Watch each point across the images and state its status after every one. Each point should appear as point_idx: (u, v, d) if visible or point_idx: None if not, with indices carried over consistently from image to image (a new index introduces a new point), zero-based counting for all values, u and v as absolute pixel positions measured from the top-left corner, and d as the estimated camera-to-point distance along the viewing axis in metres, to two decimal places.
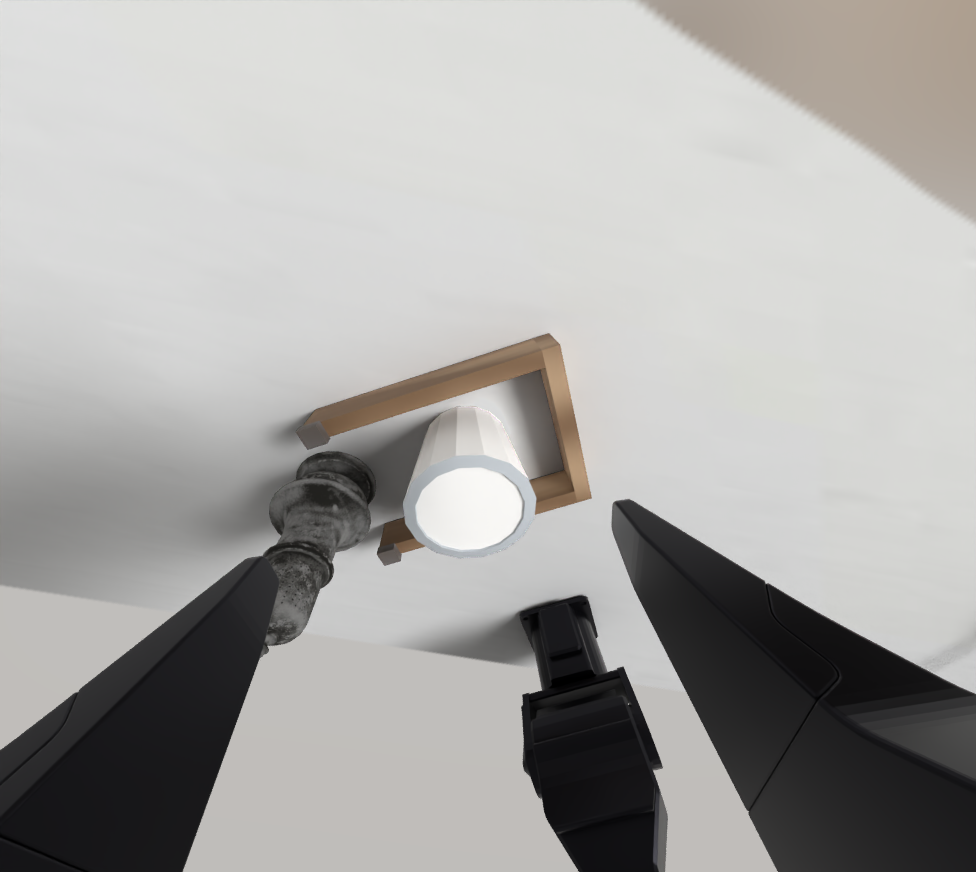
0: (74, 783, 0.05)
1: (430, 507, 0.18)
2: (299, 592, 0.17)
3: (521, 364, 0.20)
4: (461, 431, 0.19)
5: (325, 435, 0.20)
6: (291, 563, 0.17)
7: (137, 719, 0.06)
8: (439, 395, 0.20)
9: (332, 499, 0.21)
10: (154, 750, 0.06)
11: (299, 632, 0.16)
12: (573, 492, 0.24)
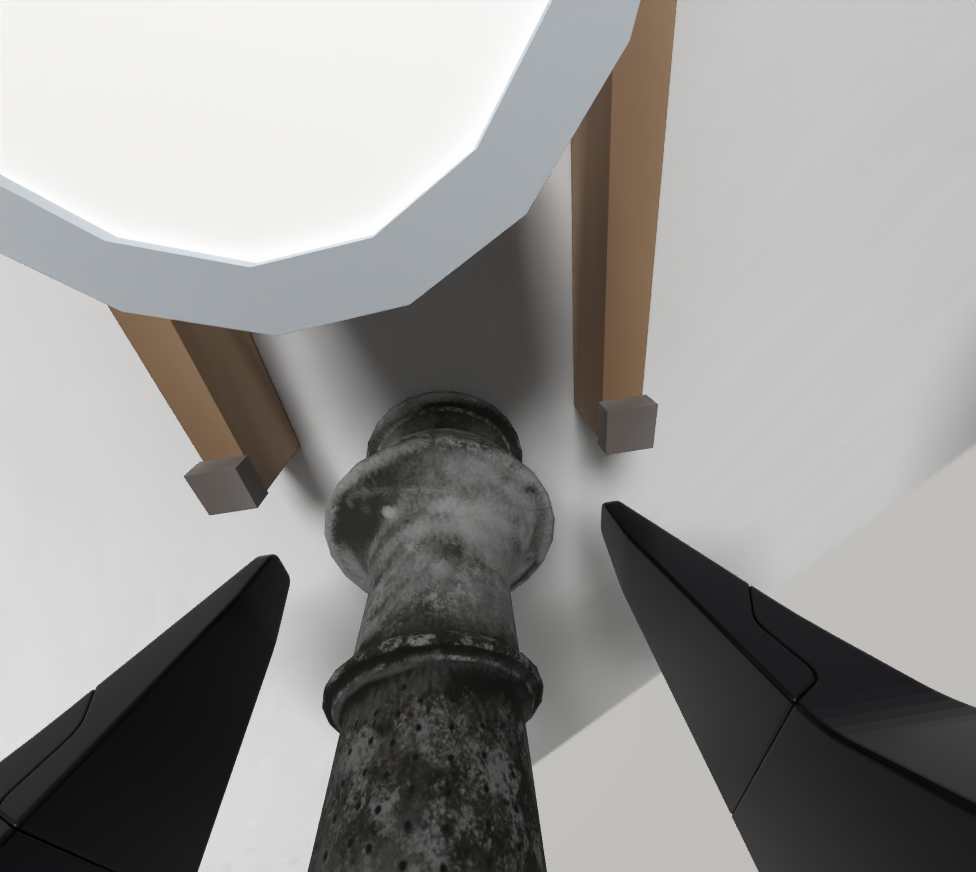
0: (94, 780, 0.05)
1: (120, 139, 0.03)
2: None
3: None
4: None
5: (225, 464, 0.09)
6: (335, 762, 0.05)
7: (155, 716, 0.06)
8: None
9: (371, 508, 0.08)
10: (171, 747, 0.06)
11: None
12: None
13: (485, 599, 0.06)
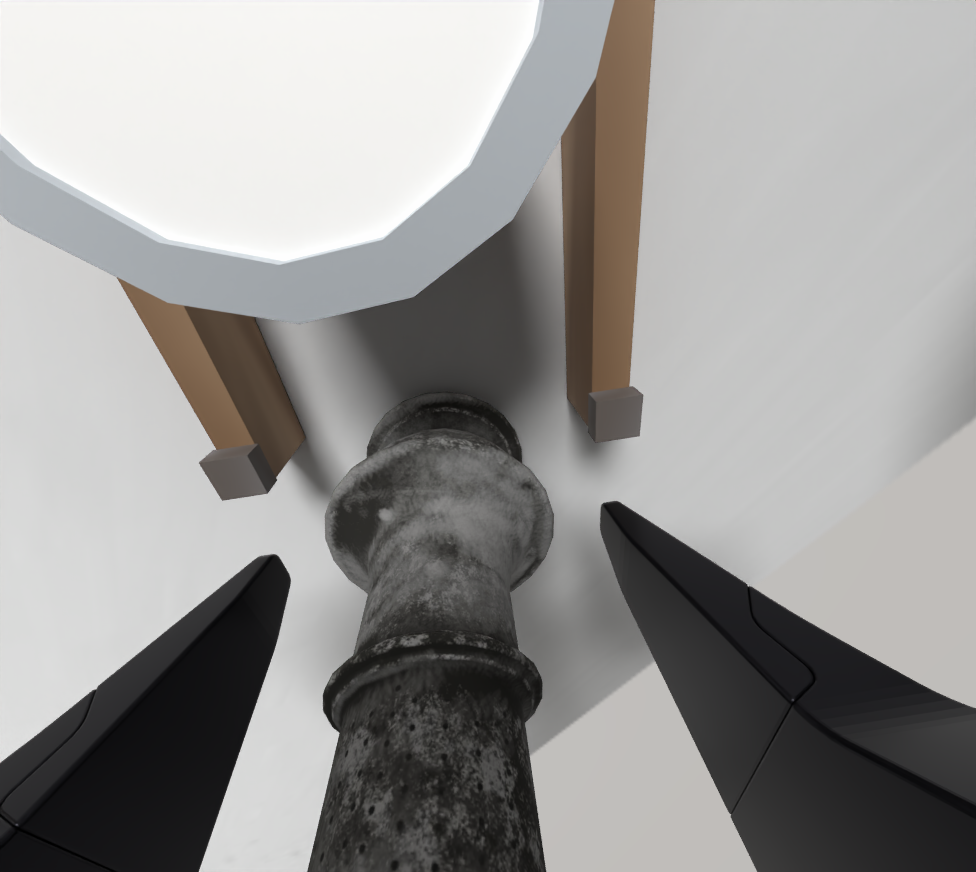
0: (96, 779, 0.05)
1: (175, 158, 0.03)
2: None
3: None
4: None
5: (237, 452, 0.09)
6: (334, 764, 0.05)
7: (155, 716, 0.06)
8: None
9: (368, 511, 0.08)
10: (172, 747, 0.06)
11: None
12: None
13: (481, 597, 0.06)
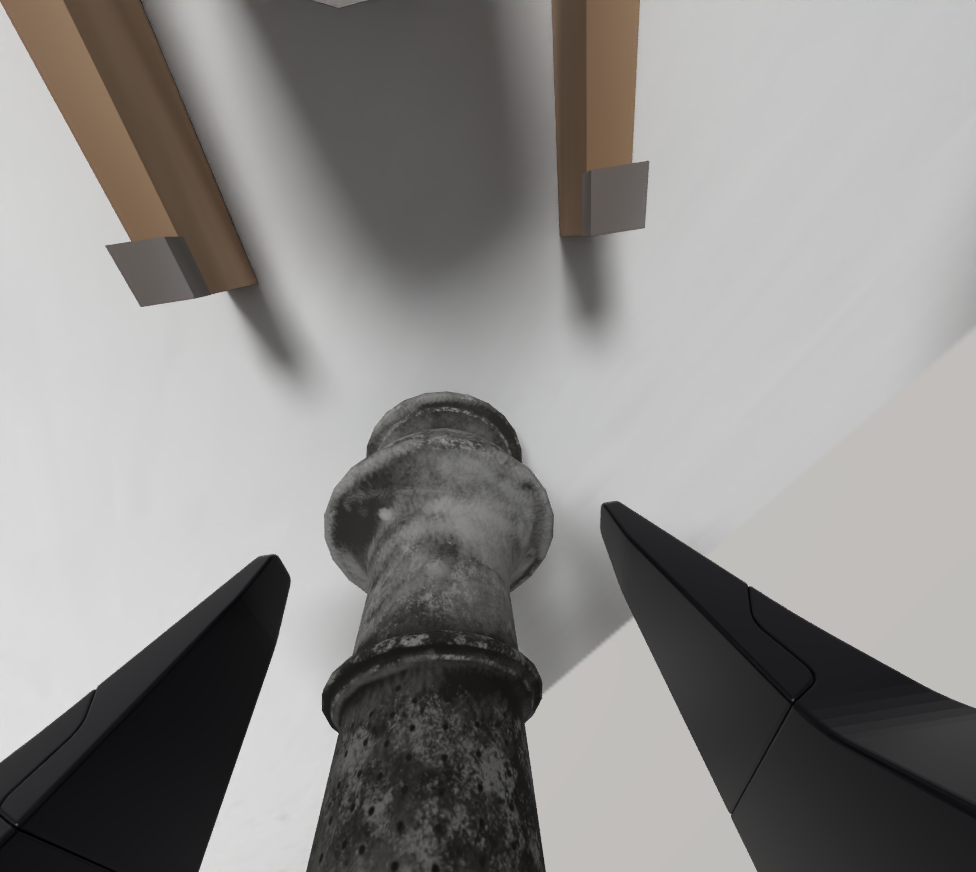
0: (95, 780, 0.05)
1: None
2: None
3: None
4: None
5: (155, 239, 0.08)
6: (333, 764, 0.05)
7: (155, 716, 0.06)
8: None
9: (368, 510, 0.08)
10: (172, 747, 0.06)
11: None
12: None
13: (481, 597, 0.06)
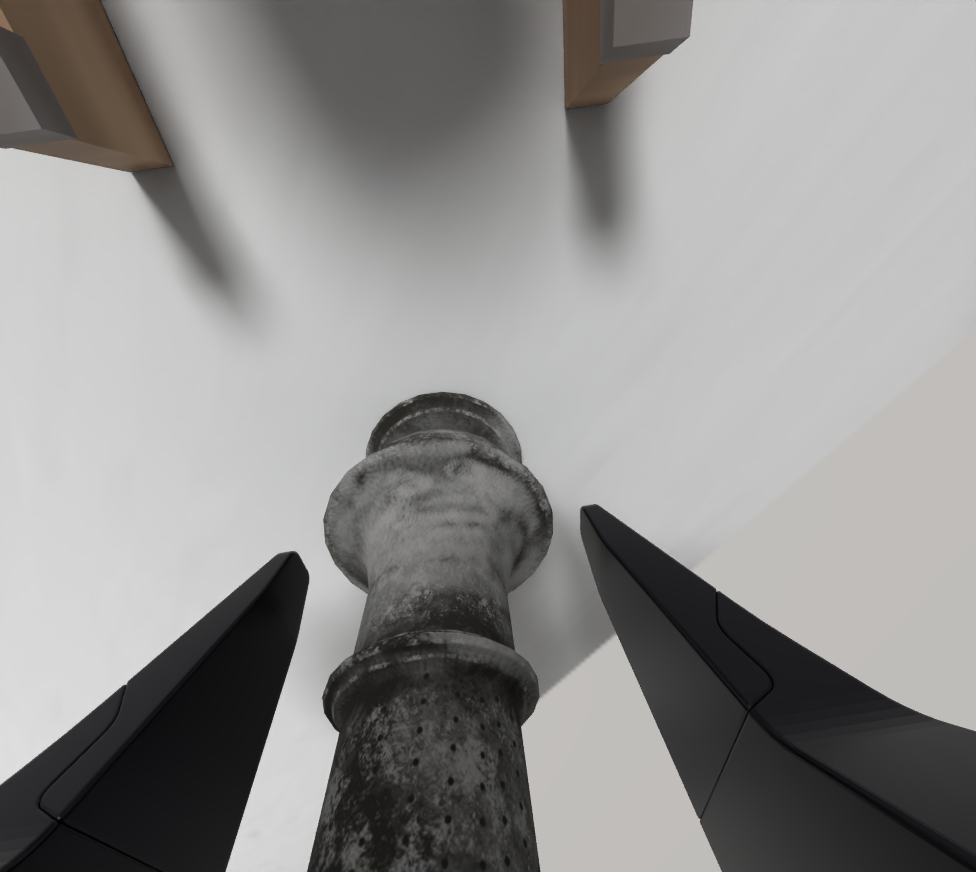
0: (132, 774, 0.05)
1: None
2: None
3: None
4: None
5: None
6: None
7: (185, 711, 0.06)
8: None
9: None
10: (202, 742, 0.06)
11: None
12: None
13: (364, 621, 0.07)
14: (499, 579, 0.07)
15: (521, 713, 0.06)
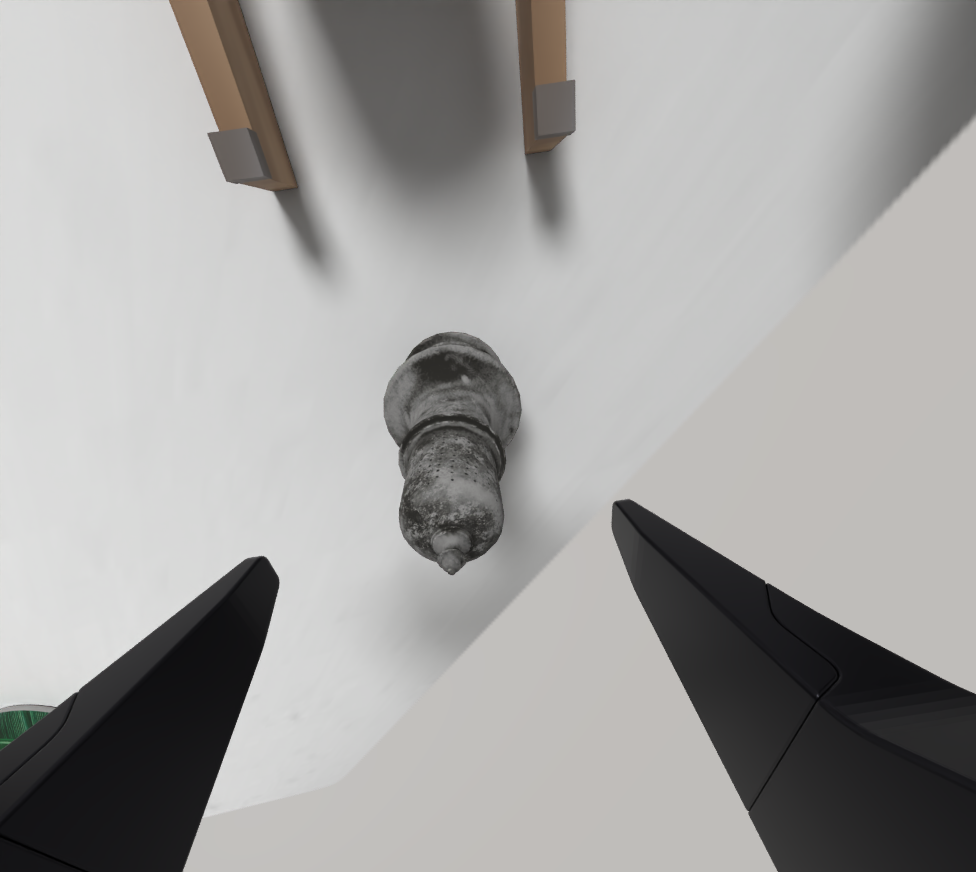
0: (74, 783, 0.05)
1: None
2: (471, 465, 0.10)
3: None
4: None
5: (238, 131, 0.11)
6: (440, 439, 0.11)
7: (137, 719, 0.06)
8: None
9: (457, 369, 0.14)
10: (154, 750, 0.06)
11: (499, 526, 0.09)
12: None
13: None
14: None
15: None
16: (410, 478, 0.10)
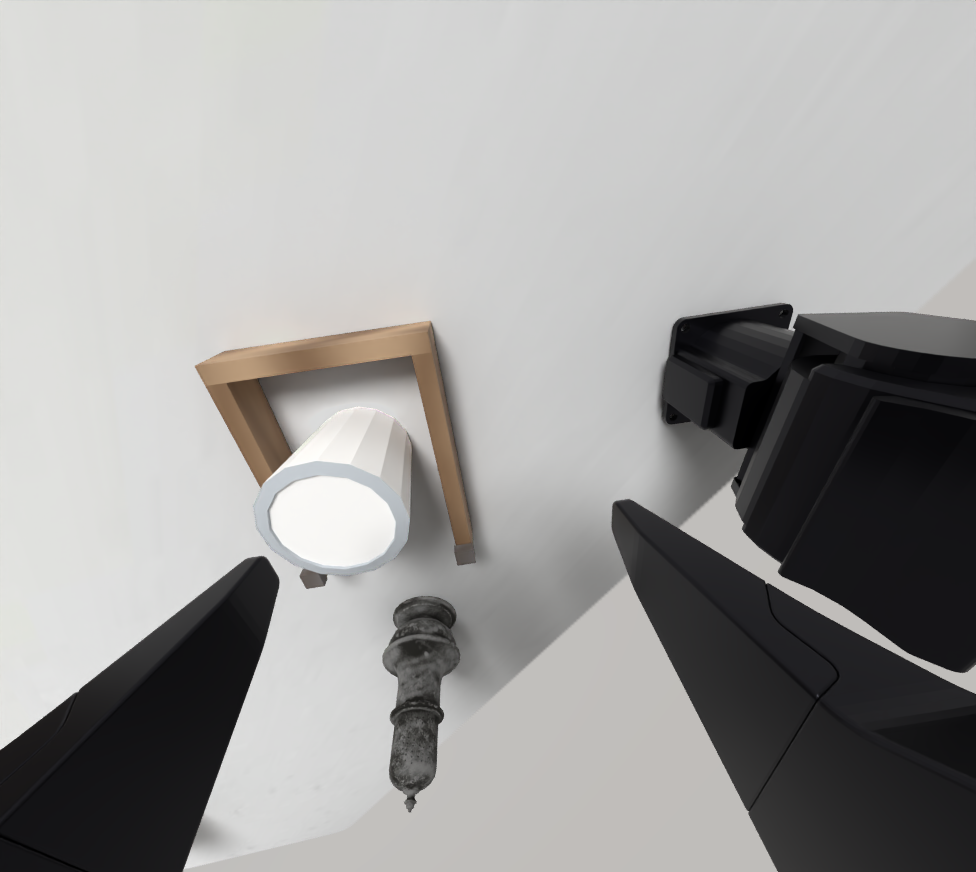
0: (74, 783, 0.05)
1: (327, 555, 0.17)
2: (421, 747, 0.22)
3: (225, 407, 0.18)
4: None
5: None
6: (409, 722, 0.23)
7: (137, 719, 0.06)
8: None
9: (421, 648, 0.26)
10: (154, 750, 0.06)
11: (433, 777, 0.22)
12: (413, 357, 0.18)
13: (439, 698, 0.25)
14: None
15: None
16: (394, 751, 0.22)
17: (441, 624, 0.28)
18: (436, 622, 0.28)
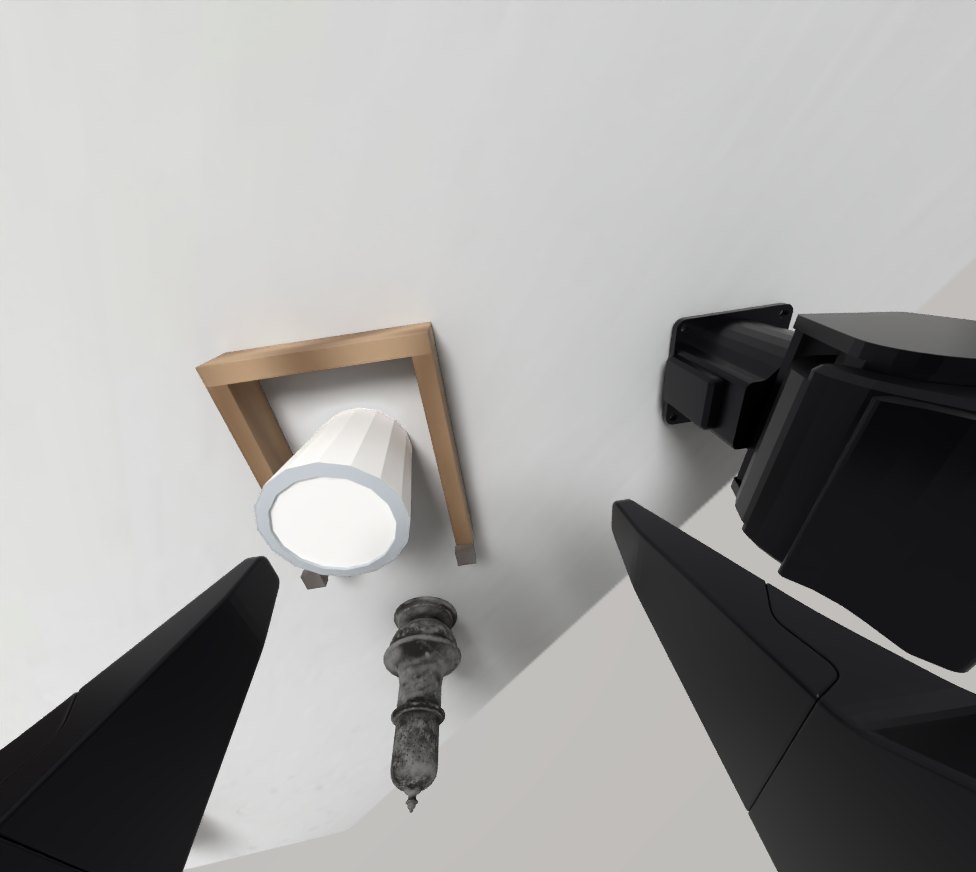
0: (74, 783, 0.05)
1: (328, 556, 0.18)
2: (422, 747, 0.22)
3: (226, 409, 0.18)
4: None
5: None
6: (410, 723, 0.23)
7: (137, 718, 0.06)
8: None
9: (422, 648, 0.26)
10: (154, 750, 0.06)
11: (434, 777, 0.22)
12: (413, 358, 0.18)
13: (440, 698, 0.25)
14: None
15: None
16: (395, 752, 0.22)
17: (442, 624, 0.28)
18: (437, 622, 0.28)
